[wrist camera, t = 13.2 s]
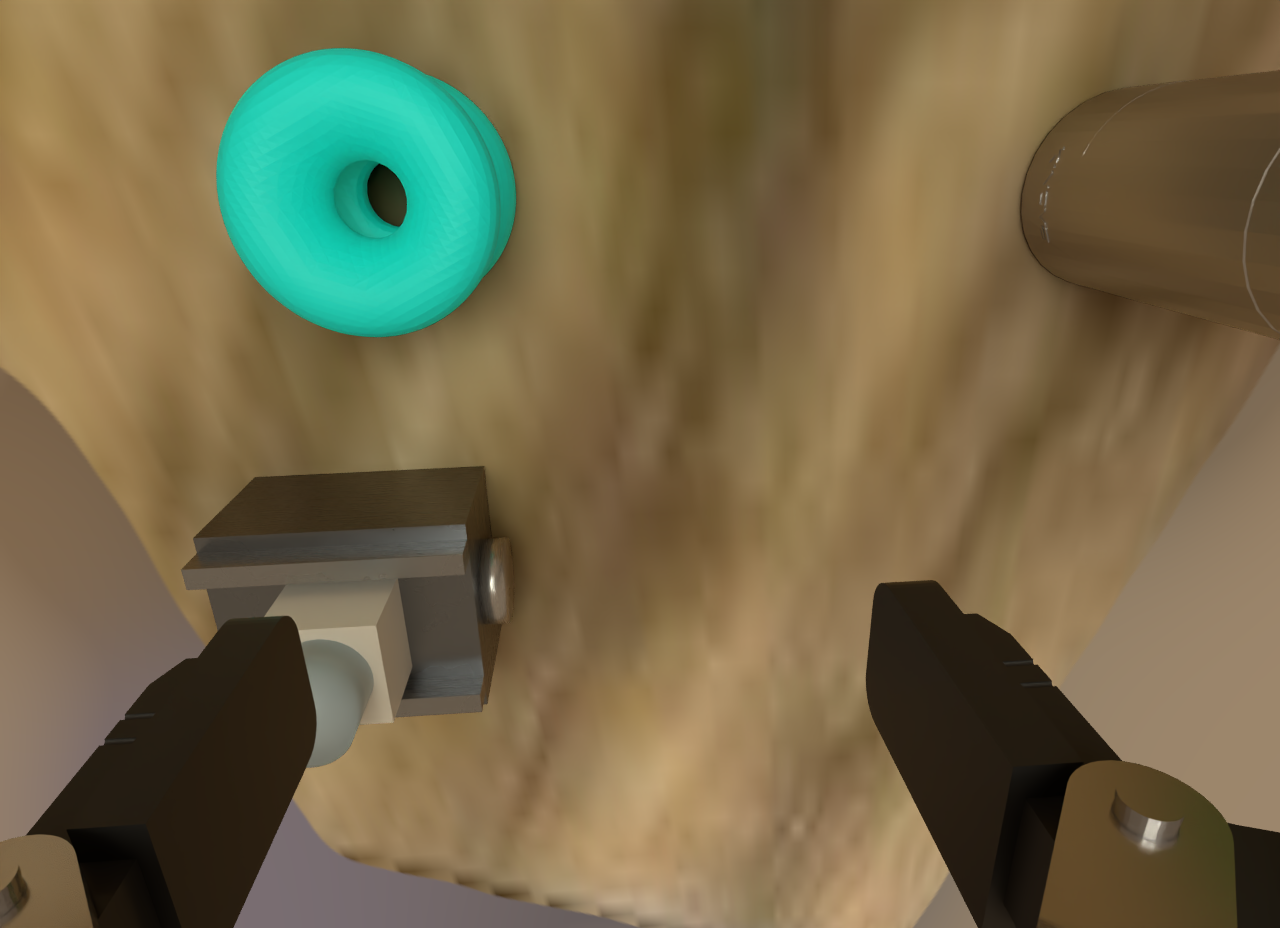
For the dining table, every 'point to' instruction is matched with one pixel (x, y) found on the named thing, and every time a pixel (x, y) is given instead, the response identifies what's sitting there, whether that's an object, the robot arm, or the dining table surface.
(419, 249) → the donuts
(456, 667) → the motor housing
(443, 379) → the dining table surface
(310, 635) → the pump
